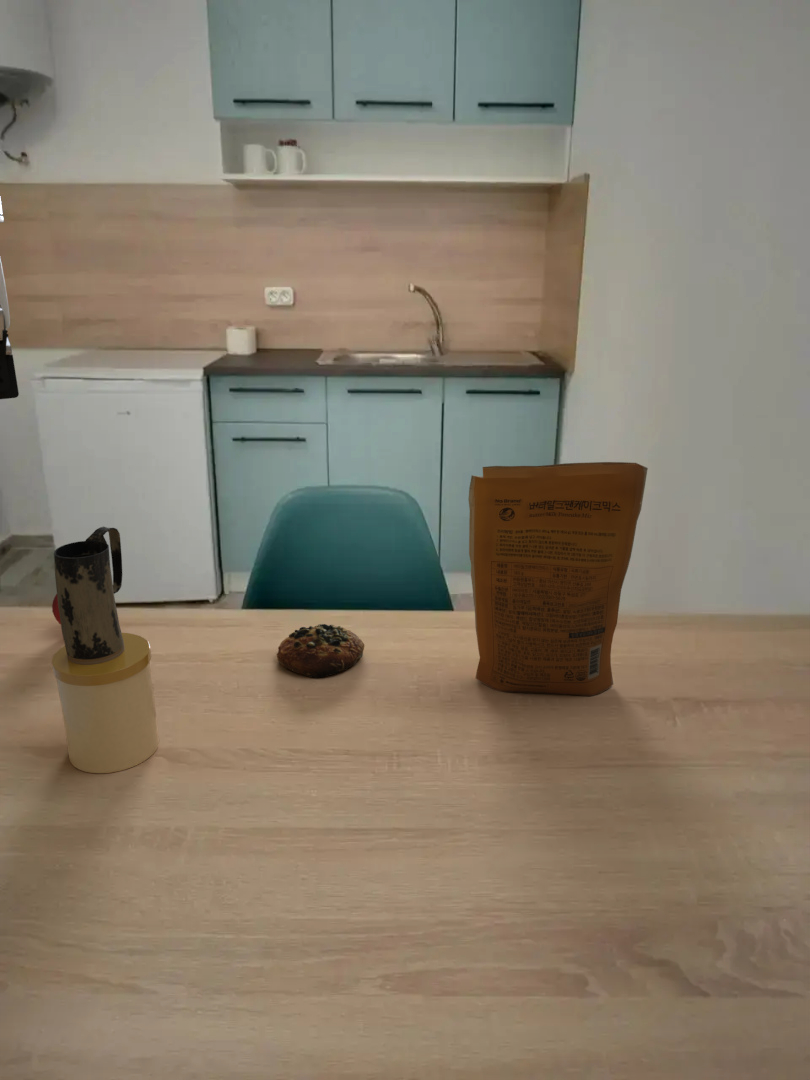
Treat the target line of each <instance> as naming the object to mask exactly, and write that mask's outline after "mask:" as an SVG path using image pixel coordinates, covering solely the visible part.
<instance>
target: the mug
mask: <svg viewBox="0 0 810 1080" xmlns="http://www.w3.org/2000/svg"><path fill="white" fill-rule="evenodd" d="M107 533H108V538H109V539H108V540H109V544H108V542H107V540H106V537H105V535H106V534H107ZM110 555H111V556H110ZM122 555H123V554H122V543H121V533H120V532H119V530H118V528H115V527H107V526H101V527H98V528H96V529H95V530H94V531H93V532H92V533H91V534H90V535H89V536H88V537H87V538H86V539H85V540H81V541H74V542H70V543H67V544H63V545H61V546H59V547H57V548H56V549H55V550H54V553H53V558H54V579H55V587H56V588H55V589H56V594H57V599H58V608H59V614H60V621H61V624H60V627H61V634H62V638H63V641H64V646H65V647H66V652H67V658H68V660H69V661H71V662H72V663H76V664H82V665H92V664H99V663H103V662H107V661H110V660H112V659H115V658H116V657H118V656H120V655H121V654H122V653H123V652H124V650H125V646H124V641H123V637H122V633H123V632H122V629H121V625H120V620H119V615H118V609H117V604H116V599H115V594H116V593H118V592H119V591H120V590H121V589H122V586H123V585H122V582H123V556H122ZM111 565H112V567H111ZM111 568H112V569H111Z"/></svg>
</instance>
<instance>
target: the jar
mask: <svg viewBox="0 0 810 1080" xmlns="http://www.w3.org/2000/svg"><path fill="white" fill-rule="evenodd" d="M121 633H122V637H123V641H124V646H125V650H124V652H123V653H122V654H121V655H120V656H118V657H116V658H115V659H112V660H110V661H107V662H103V663H99V664H92V665H82V664H76V663H72V662H71V661H69V660H68V658H67V652H66V647H65V645H63V646H61V647H60V648H59V649H58V650H56V651H55V653H54V654H53V655H52V658H51V667H52V668H51V669H52V673H53V676H54V677H55V679H56V685H57V691H58V697H59V703H60V709H61V715H62V721H63V722H62V723H63V728H64V735H65V741H66V747H67V754H68V758H69V761H70V764H71V765H72V766H73V767H75V768H76V769H77V770H79V771H81V772H85V773H90V774H110V773H117V772H121V771H125V770H129V769H131V768H133V767H136V766H138V765H140V764H142V763H144V762H145V761H146V760H148V759H149V758H150V757H152V756H153V755H154V753H155V752H156V751H157V750H158V748H159V745H160V736H159V735H160V734H159V728H158V719H157V712H156V711H157V710H156V702H155V693H154V686H153V685H154V684H153V676H152V669H151V667H152V666H151V660H152V650H151V645H150V642H149V641H148V640H147V639H146V638H145V637H143V636H141V635H138V634H134V633H129V632H121Z"/></svg>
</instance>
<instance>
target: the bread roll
mask: <svg viewBox="0 0 810 1080" xmlns="http://www.w3.org/2000/svg"><path fill="white" fill-rule="evenodd" d="M277 649H278V651H277V653H276V658H277V661H278V663H280V665H281V666H282V667H284V668H285V669H287V670H289V671H292V672H294V673H296V674H298V675H304V676H305V677H309V678H311V679H318V678H324V677H325V678H326V677H328V676H331V675H332V676H333V675H336V674H339V673H341V671H346V670H348V669H350V668H351V667H352V666H354V665H356V664H357V661H358V659H361V658H362V657H363V655H364V650H365V643H364V641H363V640H362V639H361V638H360V637H359V636H358V635H357V634H356V633H355V632H353V631H352V630H350V629H347V628H345V627H343V626H341V625H334V624H326V623H320V624H317V625H315V626H312V625H309V626H308V627H305V626H301V627H299V629H294V631H293V632H291V633H290V634H288V637H287V636H286V637H285V638H284V639H283V640H282V641H281V642H280V644H279V646H278V647H277Z"/></svg>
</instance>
